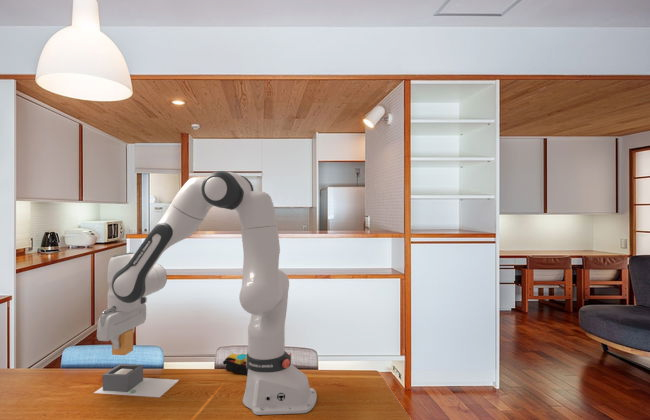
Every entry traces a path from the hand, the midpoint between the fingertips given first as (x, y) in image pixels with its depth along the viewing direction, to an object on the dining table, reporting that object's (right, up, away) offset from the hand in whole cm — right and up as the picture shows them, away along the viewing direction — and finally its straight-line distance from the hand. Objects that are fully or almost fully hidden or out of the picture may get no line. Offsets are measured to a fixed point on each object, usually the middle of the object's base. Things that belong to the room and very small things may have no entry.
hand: (122, 345), depth 127 cm
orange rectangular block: (0, -2, 0) cm, 2 cm away
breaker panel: (+5, -14, -1) cm, 15 cm away
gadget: (+37, -14, +13) cm, 41 cm away
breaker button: (0, -12, 0) cm, 12 cm away
